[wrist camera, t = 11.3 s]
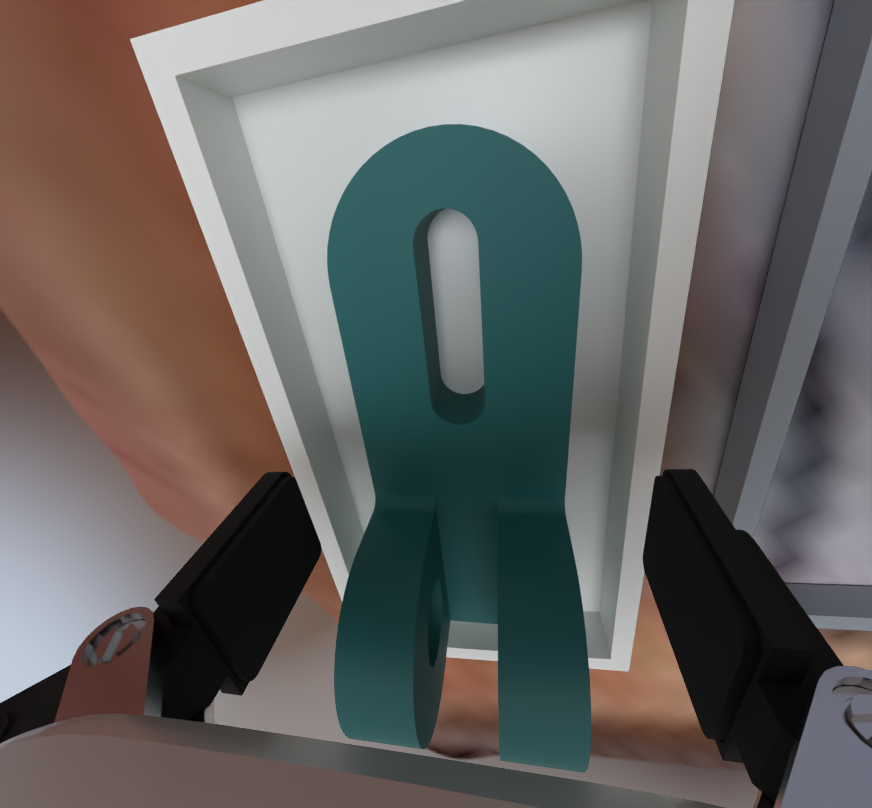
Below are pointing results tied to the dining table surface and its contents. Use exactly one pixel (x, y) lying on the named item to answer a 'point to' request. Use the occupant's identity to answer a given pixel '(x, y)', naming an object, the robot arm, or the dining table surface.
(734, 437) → the grey rectangular frame
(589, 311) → the parts tray
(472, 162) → the bracket
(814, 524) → the dining table surface
